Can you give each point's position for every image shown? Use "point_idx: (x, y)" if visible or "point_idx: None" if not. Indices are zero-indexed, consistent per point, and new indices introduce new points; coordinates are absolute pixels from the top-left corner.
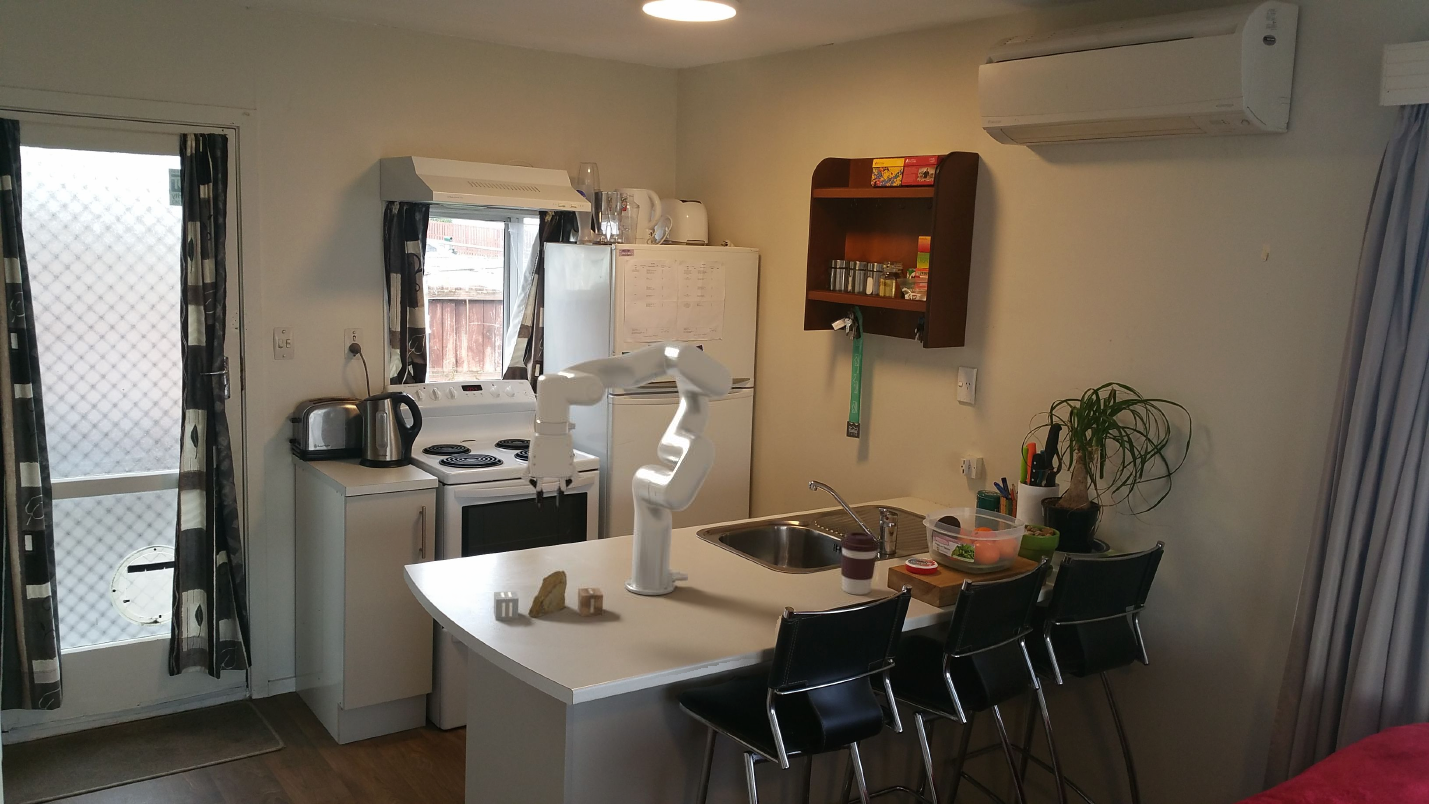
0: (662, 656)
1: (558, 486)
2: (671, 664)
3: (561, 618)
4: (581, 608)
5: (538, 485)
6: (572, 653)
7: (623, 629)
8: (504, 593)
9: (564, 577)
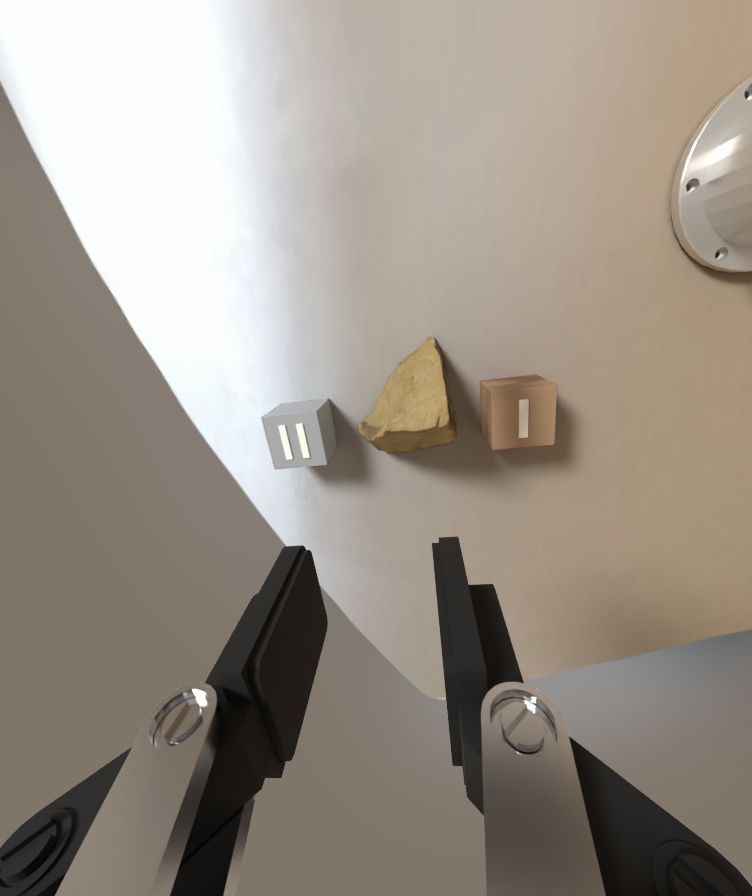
0: (599, 628)
1: (466, 745)
2: (603, 655)
3: None
4: (485, 437)
5: (199, 863)
6: None
7: (562, 511)
8: (288, 428)
9: (449, 440)
